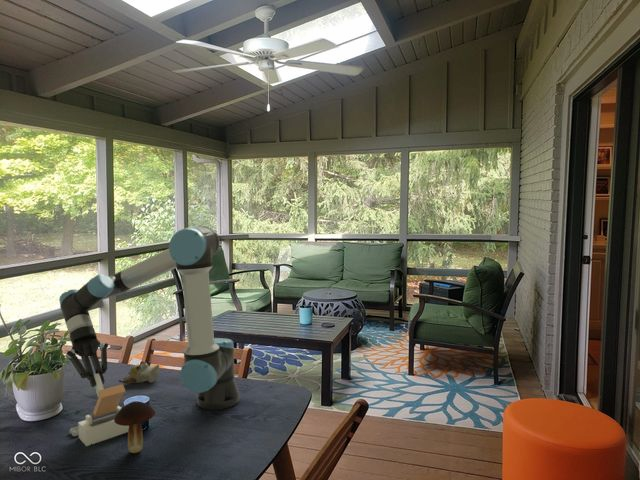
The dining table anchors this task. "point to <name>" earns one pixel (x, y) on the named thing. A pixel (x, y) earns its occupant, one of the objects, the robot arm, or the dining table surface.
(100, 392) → the lever
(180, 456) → the dining table surface
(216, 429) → the dining table surface
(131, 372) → the ceramic sculpture
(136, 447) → the decorative mushroom
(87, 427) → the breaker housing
